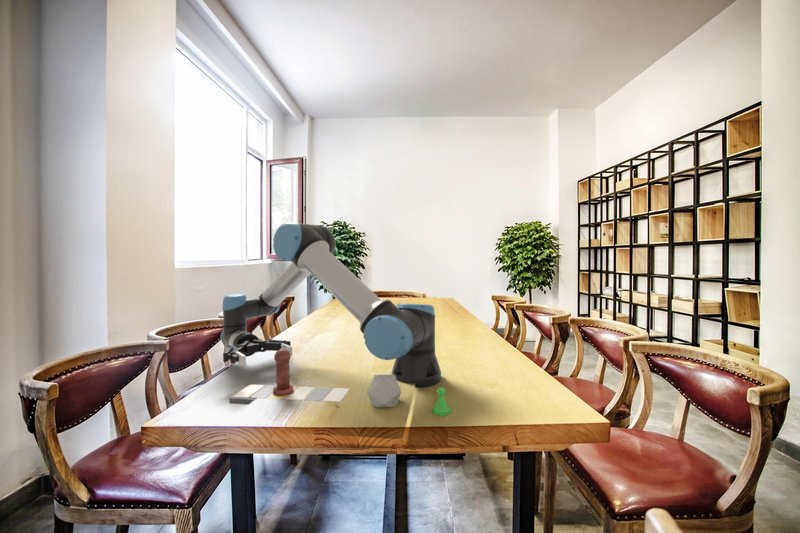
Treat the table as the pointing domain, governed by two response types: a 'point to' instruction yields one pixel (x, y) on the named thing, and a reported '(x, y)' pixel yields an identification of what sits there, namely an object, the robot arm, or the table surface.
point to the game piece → (441, 404)
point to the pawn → (282, 373)
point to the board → (299, 394)
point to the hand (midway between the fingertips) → (268, 356)
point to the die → (384, 391)
